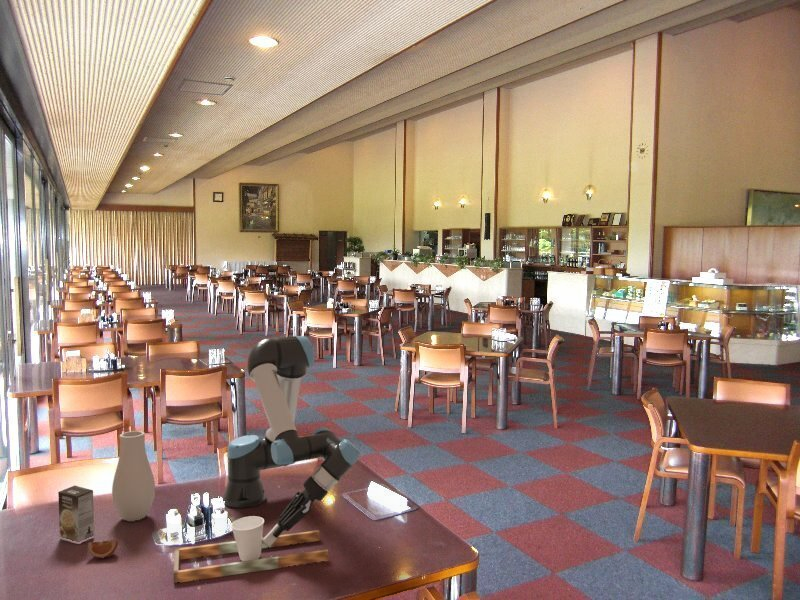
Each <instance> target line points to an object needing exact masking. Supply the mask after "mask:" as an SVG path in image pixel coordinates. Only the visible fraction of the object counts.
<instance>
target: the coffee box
mask: <svg viewBox="0 0 800 600" xmlns="http://www.w3.org/2000/svg"><path fill="white" fill-rule="evenodd" d="M57 494H58V515H59V516H58V517H59V518H58V522H59V526H58V527H59V538H60V537H62V538H66V539H70V540H72V541H76V542H80V541H82V540H85V539H87V538H89V537H92V536H94V537H95V515H94V514H95V513H94V490H93V489H89V488H85V487H82V486H79V485H72V486H70V487H67V488H64V489H62V490H60V491H58V493H57Z"/></svg>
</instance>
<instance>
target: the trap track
mask: <svg viewBox="0 0 800 600" xmlns="http://www.w3.org/2000/svg"><path fill="white" fill-rule="evenodd" d="M264 537H265V536H264ZM264 537H263V536H262V546H261V550H262V549H267V548H268V547H269V546H268V545H267V544H266V543H264V542H263V539H264ZM319 541H320V530H317V529H316V530H310V531H308V530H307V531H303V532H294V533H287V534H281V535H280V536H279V537H278V538H277V539H276V540H275V541H274V543H273V544H272V545H271V546H270V547H269V548H275V547H276V546H277V547H284V546H291V545H290V544H292V545H298V544H297V543H299V544H305V543H304V542H306V543H312V542H319ZM277 547H276V548H277ZM230 553H231V554H232V553H233V554H234V553H238V549H237V545H236V541H235V540H234V541H233V540H232V541H224V542H219V543H218V542H217V543H210V544H209V543H208V544H203V545H196V546H188V547H187V546H186V547H179V548H175V549H174V556H173V557H174V559H173V584H178V583H177V582H180V583H185V582H193V580H194V581H199V579H201V580H206V579H214V578H221V577H228V576H232V575H233V576H234V575H239V574H240V575H241V574H247V573H253V572H261V571H267V570H274V569H275V570H276V569H281V568H282V567H283V568H288V566H290V567H294V566H293V565H296V566H299V565H298V564H303V565H305V564H304V563H310V562H317V563H321V562H320V561H324V562H328V561H329V550H328V548H327V549H323V550H322V549H320V550H313V551H308V552H300V553H294V554H293V553H292V554H286V555H280V556H273V557H265V558H264V557H263V558H259V559H256V560H249V561H242V560H241V561H236V562H235V561H234V562H228V563H222V564H221V563H220V564H215V565H207V566H200V567H194V568H185V569H180V559H181V560H186V559H187V560H188V559H195V558H194V557H196V558H202V557H201V556H203V557H209V556H210V555H211V556H216V555H217V556H218V555H223V554H224V555H225V554H230ZM327 560H328V561H327ZM310 564H311V563H310Z"/></svg>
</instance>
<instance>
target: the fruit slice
mask: <svg viewBox="0 0 800 600" xmlns="http://www.w3.org/2000/svg"><path fill="white" fill-rule="evenodd" d="M118 544H119V541H118V540H117V539H111V540H102V541H91V542H90V541H89V542H88V541H87V552H88V553H89V554H90V555H91V556H93V557H94V558H97V557H99V558H98V559H103V558H102V557H107V556H109V557H110V556H112V555H113V554H114V553H115V552H116V550H117V548H118ZM107 558H108V557H107Z"/></svg>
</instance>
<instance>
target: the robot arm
mask: <svg viewBox="0 0 800 600" xmlns="http://www.w3.org/2000/svg"><path fill="white" fill-rule="evenodd" d="M314 351H315V350H314V348H313V345H312V342H311V341H310V339H309V338H308V337H307V336H304V335H294V336H281V337H266V338H263V339H261V340H260V341H257V343H255V345H254V346H253V347H252V348H251V351H250V352H249V354H248V358H247V361H246V363H247V365H246V366H247V367H246V368H247V369H246V370H247V372H248V376H249V379H250V380H251V381H252V382H254V385H255V386H256V389H257V393H258V395H259V398H260V401H261V404H262V407H263V410H264V412H265V415H266V418H267V421H268V424H269V428H268V429H267V430H266V432H265V436H264V437H262V438H260V436H258V435H255V434H251V435H246V434H245V435H242V436H238V437H236V438H234V439H232V440H231V441H230V442H229V443H228V445H227V453H226V456H227V480H228V481H227V485H226V488H225V492H224V494H223V502H224V501H225V504H226V506H227V507H230V508H235V509H236V508H238V509H239V508H240V509H243V508H251V507H255V506H258V505H260V504H262V503H263V502H264V501H265V500H266V491H265V490H264V485H263V483H262V480H261V471H265V470H270V469H276V468H281V467H283V468H284V467H288V466H290V465H294V464H296V463H297V462H304V461H309V460H315V459H320V458H323V459H324V460H323V462H321V464H319V466H317V468H316V469H315V470H314V471H313V472H312V476H309V477H308V478H307V479H306V480H305V482H304V483H303V484H302V486H303V487H304V489H303V490H302V492H300V491H297V492H296V493H295V494H294V497H293V498H292V499H291V501H290V502H289V504H288V505H287V506H286V507H285V509H284V510H283V511H282V513H281V514H279V517H278V520H277V523H276V524H275V525H274V526H273V528H271V530H269V532H268V533H267V534H266V535H265V536H264V539H263V542H264V543H266V544H267V545H268V546H269V548H271V547H270V546H271V545H272V544H273V543H274V541H275V540H276V539H277V538H278V537H279V536H280V535H283V532H285V531H287V532H289V531H290V530H291V529H292V528H294V527H295V525H297V524H298V523H299V521H301V520H302V518H304V517H305V516H307V515H308V514H310V512H311V509H310V508H311V506H312V505H313V503H315V501H316V500H317V501H319V502H322V500H323V499H324V498H325V497H326V496H327V495H328V491H331V489H333V488H334V487H335V486H337V485H338V482H339V481H340V480H341V479H342V478H343V476H344V475H346V473H348V471H349V470H350V469H351V468H352V467H353V466H354V465H355V463H356V462H357V461H358V460H359V458H360V457H361V454H362V453H361V450H360V449H358V447H357V446H355V445H354V444H353V443H352V442H351V441H350V440H349V439H347V438H344V439H342V441H341V440H340V439H339V438H338V436H337V434H335V432H333V431H332V430H331V429H330V428H328V427H325V426H324V427H323V426H322V427H319V428H317V429H316V430H314V431H313V432H312V434H310V435H304V436H303V435H302V436H300V435H299V433H298V430H297V427H296V425H295V420H296V414H297V407H298V400H299V394H300V387H301V381H302V380H301V379H302V378H303V377H305V375H306V374H307V369H310V368H311V367H313V366H314V364H315V352H314ZM225 504H224V505H225Z"/></svg>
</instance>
